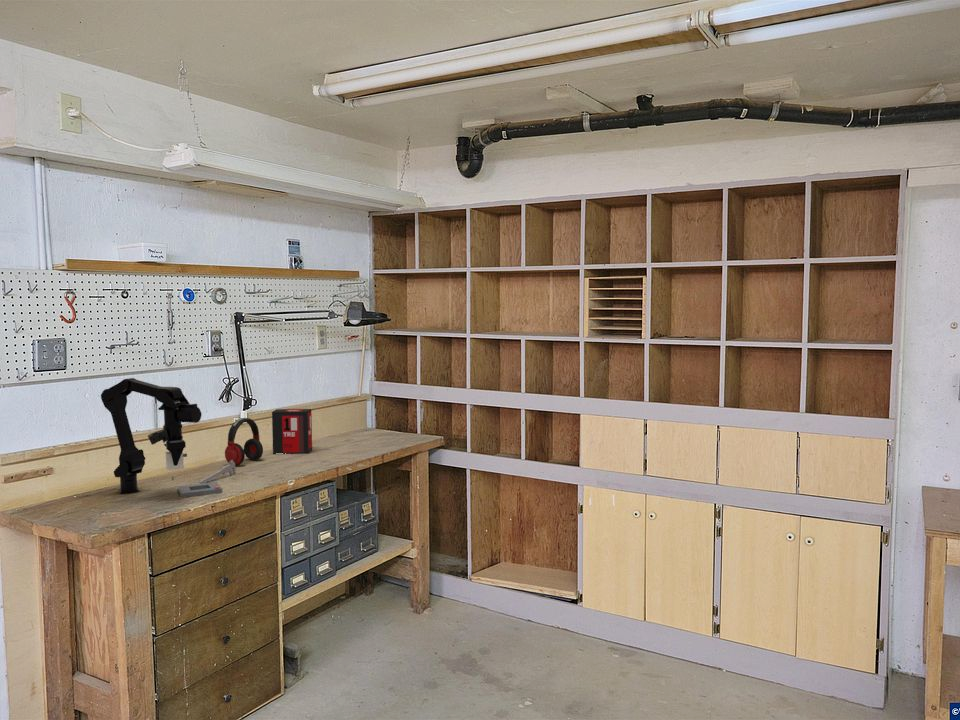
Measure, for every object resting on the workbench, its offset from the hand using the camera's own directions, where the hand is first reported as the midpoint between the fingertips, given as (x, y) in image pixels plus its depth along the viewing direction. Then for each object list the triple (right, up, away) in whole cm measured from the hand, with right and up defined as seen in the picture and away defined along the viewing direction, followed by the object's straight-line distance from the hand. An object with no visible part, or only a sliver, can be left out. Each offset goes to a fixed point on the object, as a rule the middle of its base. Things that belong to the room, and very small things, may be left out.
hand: (174, 464), depth 265 cm
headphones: (+8, -8, +55) cm, 56 cm away
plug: (0, -2, 0) cm, 2 cm away
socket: (+7, -11, +5) cm, 14 cm away
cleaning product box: (+23, -6, +78) cm, 82 cm away
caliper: (+7, -10, +24) cm, 27 cm away
